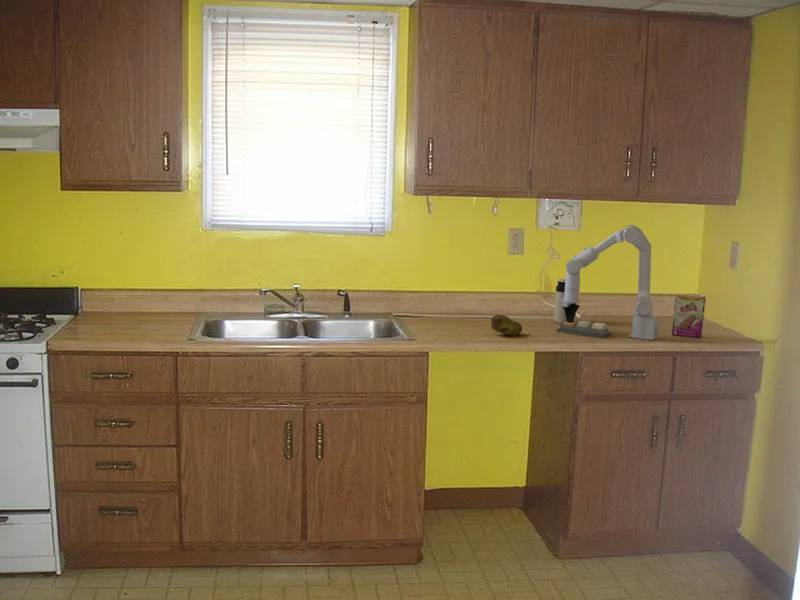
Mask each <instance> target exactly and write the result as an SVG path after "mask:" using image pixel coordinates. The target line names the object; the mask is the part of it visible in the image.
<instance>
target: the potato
mask: <svg viewBox="0 0 800 600" xmlns="http://www.w3.org/2000/svg"><path fill="white" fill-rule="evenodd" d="M490 324H491V329H492V330H494V331H495V332H497V333H501V334H503V335H505V336H516V335H519V334H521V333H522V330H523V326H522V324H521V323H519V322H518V321H515V320H513V319H511V318H509V317H508V316H507V315H504V314H495V315H493V316H492V318H491V319H490Z"/></svg>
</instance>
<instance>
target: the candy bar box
mask: <svg viewBox="0 0 800 600" xmlns="http://www.w3.org/2000/svg"><path fill="white" fill-rule="evenodd" d="M706 300H707V296H703V295H695V294H684V293H676V295H675V302H674V312H673V321H672V332H671V335H672V336H675V337H676V336H677V337H684V338H685V337H686V338H694V339H701V338H702V337H703V329H704V321H705V320H704V319H705V318H704V317H705V310H706V309H705V308H706Z"/></svg>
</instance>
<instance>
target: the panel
mask: <svg viewBox="0 0 800 600" xmlns="http://www.w3.org/2000/svg"><path fill="white" fill-rule="evenodd" d="M592 326H593V324H591V326H590V327H580V326H578V322H577V323H576V325H574V326H573V325H566V324H563V323H559V327H558V328H556V333H560V332H564V333H563V334H567V333H569V334H568V335H574V334H576V336H581V335H582V337H589V338H597V339H605V338H607V337H609V336H611V335H612V331H610V330H609V327H606V328H605V329H595V328H592Z"/></svg>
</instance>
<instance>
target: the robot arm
mask: <svg viewBox="0 0 800 600" xmlns="http://www.w3.org/2000/svg"><path fill="white" fill-rule="evenodd" d="M624 241H625V242H626V243H628V244H631V245H633V247H635V248H636V249H637V250H638V252H639V253H638V280H637V281H638V285H637V287H638V288H637V298H636V300H635V302H634V306H635V307H634V308H635V311H633V313H632V325H631V326H632V327H631V328H632V329H631V333H630V334H629V335H628V336H627V337H628V338H635V339H642V340H648V339H649V340H650V341H653V340H655V339H657V338H659V335H658V332H659V324H660V322H659V317H658V316H655V315H653V313H652V311H653V303H652V300H651V271H652V270H651V268H652V267H651V266H652V245H651V244H652V243H651V242H650V241H649V239H648V238H647V236H646V235H645V233H644V232H643V230H642V229H640V228H639V227H638V226H636V225H633V224H630V225H627V226H625V227H624V228H622V229H619V230H617V231H615V232H613V233H612V234H611V235H609V236H608V237H606V239H604V240H602V241H601V242H600V243H598V244H596V246H593V247H592V246H588V247H584V248H583V250H582V251H581V252H579V253H578V254H575V255H573V258H571V259H569V260H568V261H567V262H566V264H565V270H566V272H565V275H566V276H565V278H564V279H565V295H564V299H561V301H563V302H562V307H563V308H564V311H565V314H566V320H567V322H568V323H573V322H575V318H576V314H577V313H578V310H579V309H580V305H579V304H580V303H581V298H580V290H581V289H580V288H581V287H580V286H581V276H580V275H581V270H582V268H583V269H584V268H586V267H588V266H589V265H590V264H592V263H593V262H595V261H596V260H598V258H599V255H600V254H601V253H602V252H604V251H605V250H607V249H608V248H611V247H612V246H613V245H615V244H619V243H624Z"/></svg>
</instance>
